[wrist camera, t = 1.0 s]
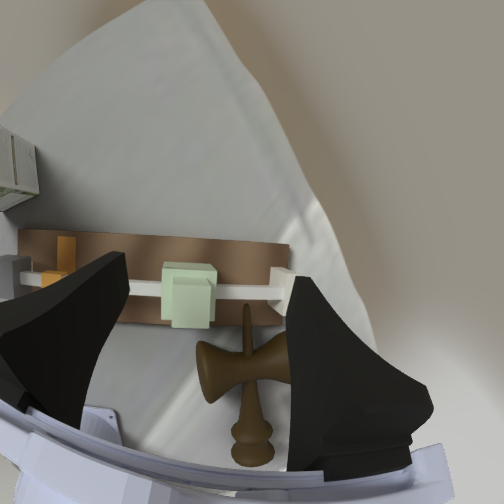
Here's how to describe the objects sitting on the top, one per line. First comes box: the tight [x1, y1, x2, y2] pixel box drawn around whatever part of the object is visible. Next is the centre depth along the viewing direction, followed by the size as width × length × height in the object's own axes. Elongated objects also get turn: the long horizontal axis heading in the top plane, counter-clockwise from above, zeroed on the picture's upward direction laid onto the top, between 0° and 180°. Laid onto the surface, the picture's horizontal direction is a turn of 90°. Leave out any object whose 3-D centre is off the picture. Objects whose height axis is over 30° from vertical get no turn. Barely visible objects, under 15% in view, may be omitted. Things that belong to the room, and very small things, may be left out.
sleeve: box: [161, 261, 217, 329], centre depth 20 cm, size 4×4×7 cm
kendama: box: [196, 303, 291, 467], centre depth 26 cm, size 6×10×20 cm
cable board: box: [18, 229, 289, 326], centre depth 24 cm, size 27×8×1 cm, turn 85°
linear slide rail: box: [0, 255, 300, 316], centre depth 21 cm, size 27×4×5 cm, turn 85°
